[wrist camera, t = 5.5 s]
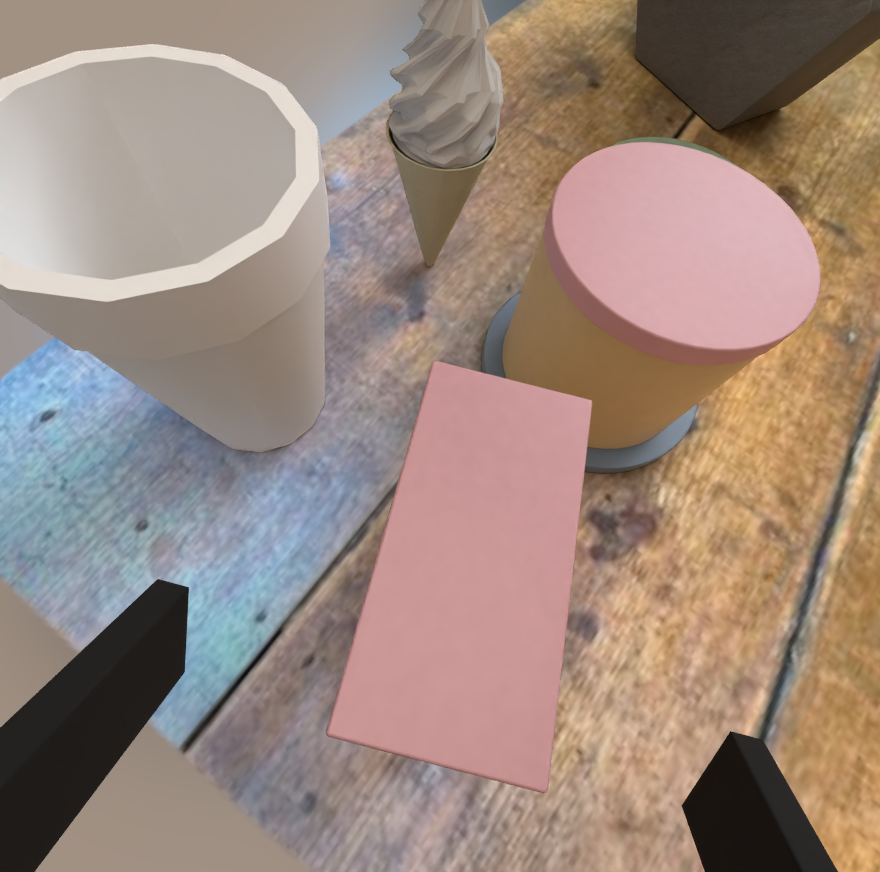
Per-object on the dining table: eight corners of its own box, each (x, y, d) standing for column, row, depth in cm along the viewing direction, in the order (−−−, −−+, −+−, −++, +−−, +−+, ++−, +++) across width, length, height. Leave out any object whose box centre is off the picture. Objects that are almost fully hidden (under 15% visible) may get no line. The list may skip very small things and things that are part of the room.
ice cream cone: (468, 234, 30) (533, -114, 16) (472, 298, 28) (551, -37, 14) (388, 229, 29) (384, -134, 16) (386, 294, 27) (380, -56, 14)
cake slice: (467, 714, 19) (548, 795, 9) (360, 686, 19) (323, 735, 9) (505, 505, 23) (593, 399, 13) (415, 482, 23) (433, 358, 13)
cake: (447, 416, 24) (478, 287, 16) (522, 260, 29) (579, 92, 20) (667, 511, 24) (836, 431, 15) (707, 333, 28) (853, 190, 19)
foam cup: (241, 523, 21) (50, 376, 9) (124, 392, 23) (-153, 135, 12) (393, 396, 25) (393, 169, 13) (279, 291, 27) (188, 10, 15)
